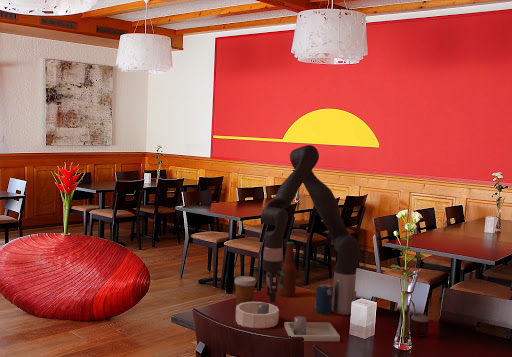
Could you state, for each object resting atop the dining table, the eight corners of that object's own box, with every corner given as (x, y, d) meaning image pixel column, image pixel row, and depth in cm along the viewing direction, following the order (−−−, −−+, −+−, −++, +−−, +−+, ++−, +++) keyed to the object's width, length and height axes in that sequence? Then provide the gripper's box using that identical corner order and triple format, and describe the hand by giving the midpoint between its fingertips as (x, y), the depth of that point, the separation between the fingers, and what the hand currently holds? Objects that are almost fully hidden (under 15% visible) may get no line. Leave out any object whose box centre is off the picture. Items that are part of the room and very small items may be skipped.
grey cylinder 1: (267, 317, 230) (268, 302, 230) (269, 321, 226) (269, 306, 225) (256, 317, 230) (256, 302, 229) (257, 321, 225) (258, 306, 225)
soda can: (334, 314, 241) (336, 286, 240) (319, 316, 239) (321, 287, 238) (326, 309, 248) (328, 282, 247) (312, 310, 245) (313, 283, 244)
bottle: (287, 292, 272) (290, 240, 269) (298, 296, 266) (301, 243, 264) (276, 294, 267) (279, 241, 265) (286, 298, 261) (290, 244, 259)
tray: (329, 328, 225) (329, 322, 224) (339, 342, 210) (340, 336, 210) (284, 327, 222) (284, 322, 222) (291, 342, 208) (291, 336, 207)
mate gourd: (430, 335, 223) (433, 297, 221) (423, 340, 216) (426, 302, 215) (411, 330, 227) (414, 293, 226) (404, 335, 220) (407, 297, 219)
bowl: (274, 315, 237) (274, 302, 236) (280, 329, 220) (281, 315, 220) (234, 314, 235) (234, 301, 234) (237, 328, 218) (238, 314, 218)
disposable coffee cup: (254, 310, 242) (256, 282, 241) (232, 308, 242) (233, 280, 241) (255, 303, 252) (256, 276, 251) (233, 302, 252) (235, 275, 251)
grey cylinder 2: (304, 331, 218) (305, 316, 218) (306, 335, 214) (307, 320, 213) (292, 331, 217) (293, 316, 217) (294, 335, 213) (295, 320, 212)
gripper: (285, 262, 217) (283, 304, 218) (279, 254, 231) (277, 293, 232) (265, 262, 216) (263, 304, 217) (261, 254, 230) (259, 293, 232)
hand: (271, 298), depth 225 cm, fingers open, 8 cm apart
